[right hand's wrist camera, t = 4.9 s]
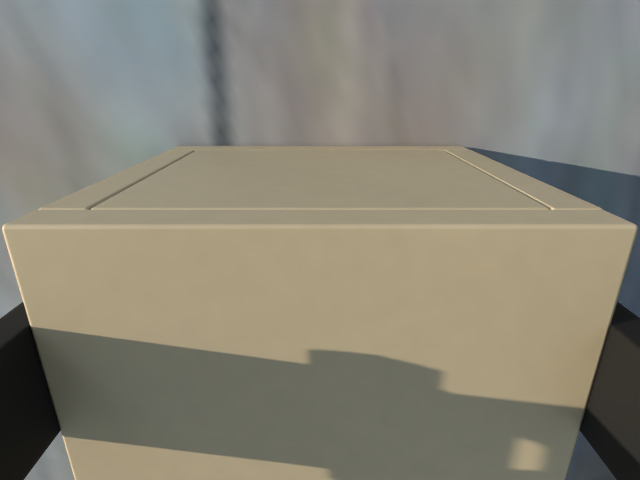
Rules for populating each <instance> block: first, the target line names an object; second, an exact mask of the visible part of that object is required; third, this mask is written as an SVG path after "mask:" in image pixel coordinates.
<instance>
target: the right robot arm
mask: <svg viewBox="0 0 640 480" xmlns="http://www.w3.org/2000/svg"><path fill="white" fill-rule="evenodd" d="M60 430H61V429H60V426H59V422H58V419H57V416H56V412H55V409H54V405H53V402H52V398H51V395H50V392H49V388H48V385H47V381H46V378H45V374H44V371H43V368H42V364H41V361H40V357H39V354H38V350H37V347H36V344H35V340H34V337H33V333H32V330H31V326H30V323H29V319H28V316H27V313H26V309H25V306H24V302H22V303H21V304H19V305H18V306H17V307H15V308H14V309H13V310H11V311H10V312H9V313H7V314H6V315H5V316H3V317H2V318H0V480H24V478H25V477H26V476H27V474H28V473H29V472H30V470H31V469H32V468H33V466H34V465H35V464H36V462H37V461H38V460H39V458H40V457H41V456H42V454H43V453H44V452H45V450H46V449H47V448H48V446H49V445H50V444H51V442H52V441H53V440H54V438H55V437H56V436H57V434H58V433H59V432H60ZM580 431H581V432H582V434H583V435H584V436H585V438H586V439H587V440H588V442H589V443H590V444H591V446H592V447H593V448H594V450H595V451H596V452H597V454H598V455H599V456H600V458H601V459H602V460H603V462H604V463H605V464H606V466H607V467H608V468H609V470H610V471H611V472H612V474H613V475H614V476H615V478H616V479H617V480H640V318H639V317H637V316H636V315H635V314H633V313H632V312H631V311H629V310H628V309H626V308H625V307H624V306H622V305H621V304H620V303H618V302H617V304H616V307H615V310H614V314H613V317H612V321H611V324H610V328H609V331H608V334H607V338H606V341H605V345H604V348H603V352H602V355H601V358H600V362H599V365H598V369H597V372H596V375H595V379H594V382H593V386H592V389H591V393H590V396H589V399H588V403H587V406H586V410H585V413H584V416H583V420H582V423H581V427H580Z"/></svg>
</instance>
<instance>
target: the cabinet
mask: <svg viewBox="0 0 640 480" xmlns="http://www.w3.org/2000/svg"><path fill="white" fill-rule="evenodd" d="M2 230H3V234H4V237H5V240H6V244H7V247H8V251H9V254H10V258H11V261H12V265H13V268H14V271H15V275H16V278H17V282H18V285H19V289H20V292H21V295H22V299H23V302H24V306H25V309H26V313H27V316H28V319H29V323H30V326H31V330H32V333H33V337H34V340H35V344H36V347H37V350H38V354H39V357H40V361H41V364H42V368H43V371H44V374H45V378H46V381H47V385H48V388H49V392H50V395H51V398H52V402H53V405H54V409H55V412H56V416H57V419H58V422H59V426H60V429H61V433H62V436H63V440H64V443H65V447H66V450H67V453H68V457H69V460H70V464H71V467H72V471H73V474H74V477H75V480H565V478H566V475H567V471H568V468H569V464H570V461H571V458H572V454H573V451H574V447H575V444H576V440H577V437H578V434H579V430H580V427H581V423H582V420H583V416H584V413H585V410H586V406H587V403H588V399H589V396H590V393H591V389H592V386H593V382H594V379H595V375H596V372H597V369H598V365H599V362H600V358H601V355H602V352H603V348H604V345H605V341H606V338H607V334H608V331H609V328H610V324H611V321H612V317H613V314H614V310H615V307H616V304H617V300H618V297H619V293H620V290H621V287H622V283H623V280H624V276H625V273H626V269H627V266H628V263H629V259H630V256H631V252H632V249H633V246H634V242H635V239H636V235H637V232H638V226H637V225H636V224H634V223H631V222H629V221H627V220H625V219H622V218H620V217H618V216H616V215H613V214H611V213H609V212H607V211H605V210H603V209H602V208H600V207H598V206H595V205H593V204H591V203H589V202H586V201H584V200H582V199H580V198H577V197H575V196H573V195H571V194H568V193H566V192H564V191H562V190H559V189H557V188H555V187H553V186H550V185H548V184H546V183H544V182H542V181H539V180H537V179H535V178H533V177H530V176H528V175H526V174H524V173H521V172H519V171H517V170H515V169H512V168H510V167H508V166H506V165H503V164H501V163H499V162H497V161H494V160H492V159H490V158H488V157H485V156H483V155H481V154H479V153H476V152H474V151H472V150H469V149H467V148H464V147H462V146H178V147H175V148H173V149H171V150H168V151H166V152H164V153H162V154H159V155H157V156H155V157H153V158H151V159H148V160H146V161H144V162H142V163H139V164H137V165H135V166H133V167H131V168H128V169H126V170H124V171H122V172H119V173H117V174H115V175H113V176H111V177H108V178H106V179H104V180H102V181H99V182H97V183H95V184H93V185H91V186H88V187H86V188H84V189H82V190H79V191H77V192H75V193H73V194H71V195H68V196H66V197H64V198H62V199H59V200H57V201H55V202H53V203H51V204H48V205H46V206H44V207H42V208H40V209H39V210H36V211H34V212H31V213H29V214H27V215H25V216H23V217H20V218H18V219H16V220H14V221H11V222H9V223H7V224H5V225H3V228H2Z"/></svg>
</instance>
